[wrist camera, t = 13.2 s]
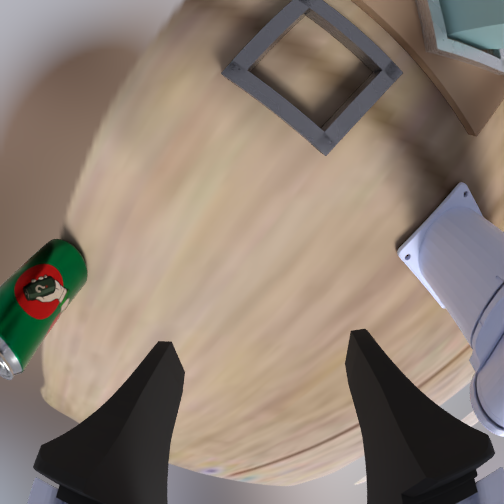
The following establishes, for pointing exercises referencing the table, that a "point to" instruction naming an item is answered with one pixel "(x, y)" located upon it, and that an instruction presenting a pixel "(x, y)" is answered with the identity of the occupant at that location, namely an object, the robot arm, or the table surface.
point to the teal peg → (475, 22)
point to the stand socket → (314, 7)
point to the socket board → (444, 58)
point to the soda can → (37, 301)
